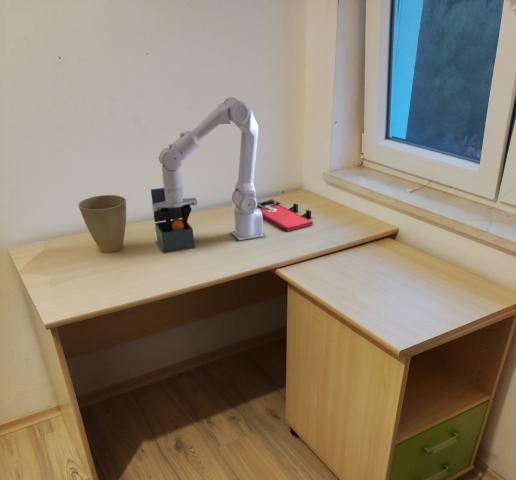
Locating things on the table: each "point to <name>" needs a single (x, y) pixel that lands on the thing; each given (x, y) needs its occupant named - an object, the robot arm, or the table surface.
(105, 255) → the table surface
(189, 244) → the bin
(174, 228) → the orange ball
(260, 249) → the table surface
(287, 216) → the red board with handle
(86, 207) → the plant pot
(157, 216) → the bin lid
